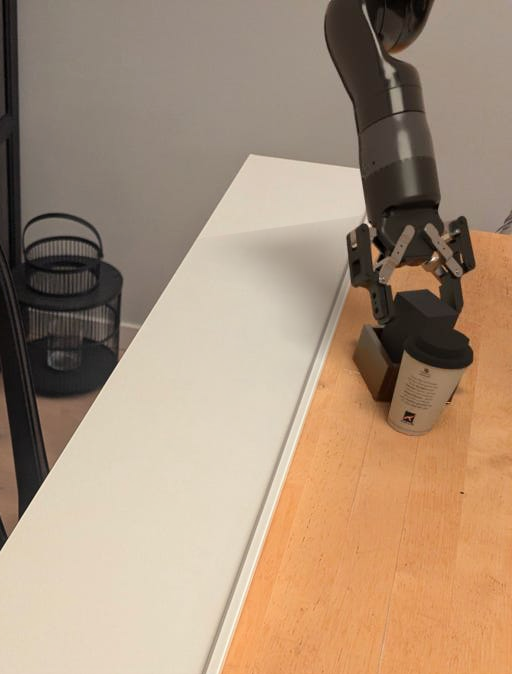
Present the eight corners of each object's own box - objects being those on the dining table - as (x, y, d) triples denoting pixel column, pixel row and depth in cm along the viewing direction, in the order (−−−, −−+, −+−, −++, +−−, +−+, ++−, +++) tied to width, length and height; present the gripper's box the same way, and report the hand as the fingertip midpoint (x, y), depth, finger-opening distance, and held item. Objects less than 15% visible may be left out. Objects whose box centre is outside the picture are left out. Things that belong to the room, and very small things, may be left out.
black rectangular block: (401, 358, 107) (427, 288, 101) (430, 385, 103) (460, 313, 97) (371, 362, 106) (396, 291, 100) (400, 389, 102) (428, 317, 96)
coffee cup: (405, 447, 96) (441, 360, 88) (363, 412, 100) (394, 327, 93) (455, 434, 98) (494, 349, 91) (412, 401, 102) (446, 317, 95)
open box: (422, 360, 109) (436, 326, 106) (450, 404, 102) (465, 369, 99) (352, 358, 108) (363, 323, 105) (375, 401, 102) (387, 366, 99)
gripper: (362, 156, 94) (386, 314, 95) (477, 149, 98) (499, 301, 98) (321, 190, 101) (344, 336, 102) (430, 183, 105) (451, 324, 106)
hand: (420, 319), depth 100 cm, fingers open, 8 cm apart
